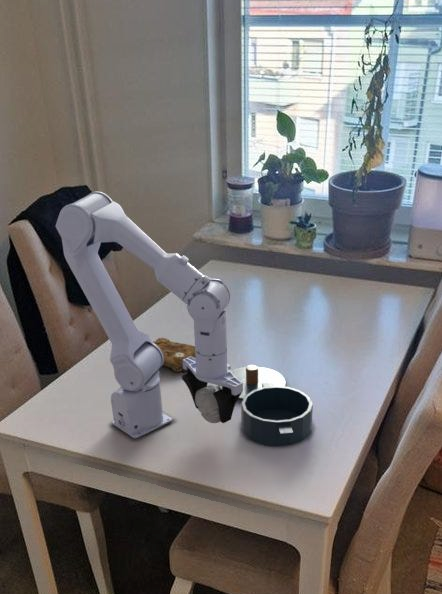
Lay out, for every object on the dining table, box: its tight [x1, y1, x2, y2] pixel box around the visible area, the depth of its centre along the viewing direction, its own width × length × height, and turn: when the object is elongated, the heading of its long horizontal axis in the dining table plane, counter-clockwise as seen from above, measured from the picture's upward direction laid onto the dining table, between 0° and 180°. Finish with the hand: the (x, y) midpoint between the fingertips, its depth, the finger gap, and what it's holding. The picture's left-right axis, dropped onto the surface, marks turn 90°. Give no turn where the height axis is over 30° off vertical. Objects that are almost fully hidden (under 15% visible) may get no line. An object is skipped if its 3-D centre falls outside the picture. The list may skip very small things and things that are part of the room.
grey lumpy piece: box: [195, 384, 222, 424], centre depth 127 cm, size 6×7×7 cm
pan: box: [240, 383, 314, 448], centre depth 130 cm, size 13×19×6 cm
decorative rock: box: [152, 337, 196, 373], centre depth 156 cm, size 11×4×15 cm
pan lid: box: [218, 364, 287, 401], centre depth 144 cm, size 14×14×5 cm
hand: (213, 413), depth 128 cm, fingers closed on grey lumpy piece, 7 cm apart
